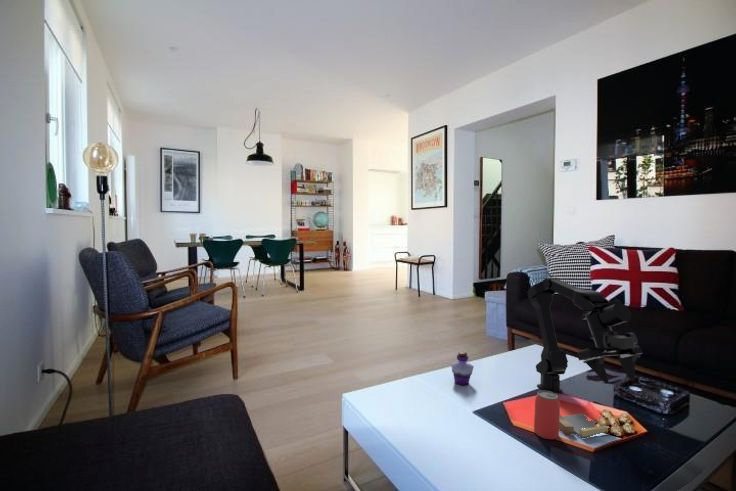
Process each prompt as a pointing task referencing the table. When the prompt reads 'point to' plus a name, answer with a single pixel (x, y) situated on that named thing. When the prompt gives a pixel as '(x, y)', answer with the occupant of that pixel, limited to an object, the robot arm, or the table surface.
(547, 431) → the beer can
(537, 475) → the table surface
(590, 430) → the grey flat slab
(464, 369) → the potion bottle
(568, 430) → the walnut rail
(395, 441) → the table surface
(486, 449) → the table surface
